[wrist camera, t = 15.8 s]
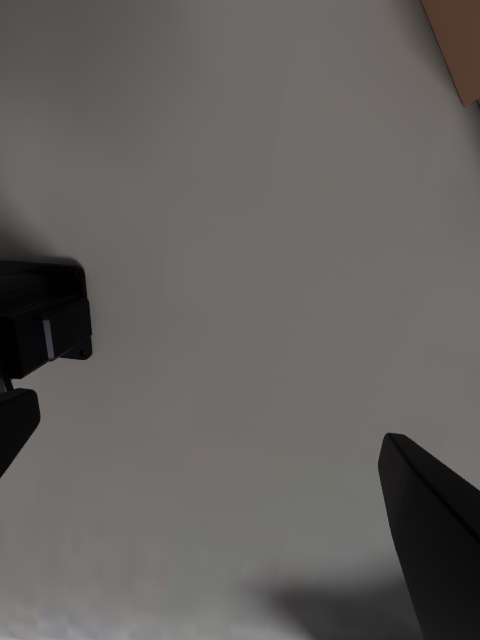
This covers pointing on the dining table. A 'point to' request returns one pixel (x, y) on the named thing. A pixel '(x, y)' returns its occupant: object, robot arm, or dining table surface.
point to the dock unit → (458, 42)
